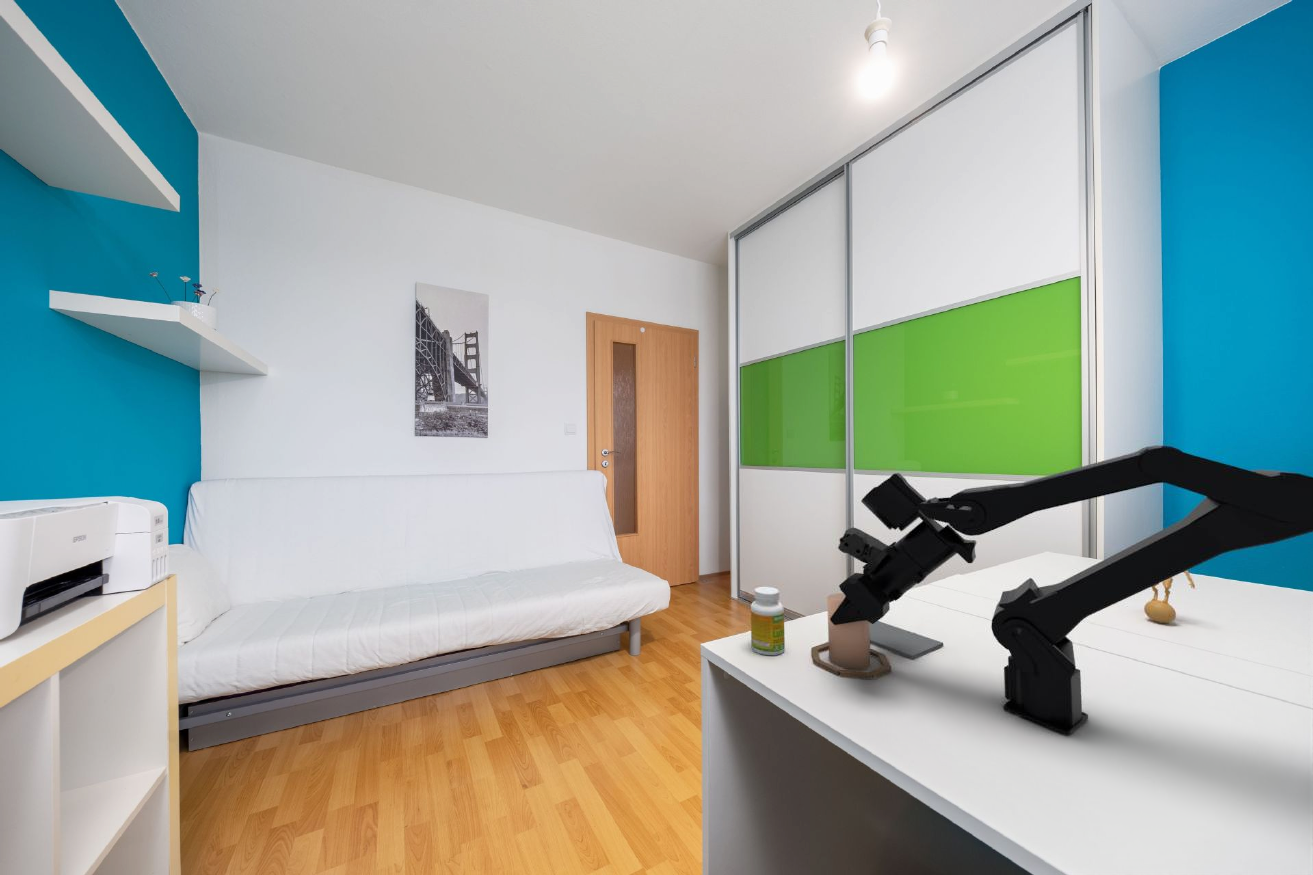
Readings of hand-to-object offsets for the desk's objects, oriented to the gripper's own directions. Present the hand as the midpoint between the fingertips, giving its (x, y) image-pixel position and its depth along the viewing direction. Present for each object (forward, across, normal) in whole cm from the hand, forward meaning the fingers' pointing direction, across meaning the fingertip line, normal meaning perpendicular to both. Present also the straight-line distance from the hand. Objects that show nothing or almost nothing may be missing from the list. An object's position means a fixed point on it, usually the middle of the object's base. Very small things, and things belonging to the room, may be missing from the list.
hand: (839, 616), depth 73 cm
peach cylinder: (+4, 0, +6) cm, 7 cm away
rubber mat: (+1, -13, +8) cm, 15 cm away
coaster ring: (+4, 0, +6) cm, 7 cm away
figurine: (-25, -52, +34) cm, 67 cm away
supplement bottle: (+12, +4, -3) cm, 13 cm away
